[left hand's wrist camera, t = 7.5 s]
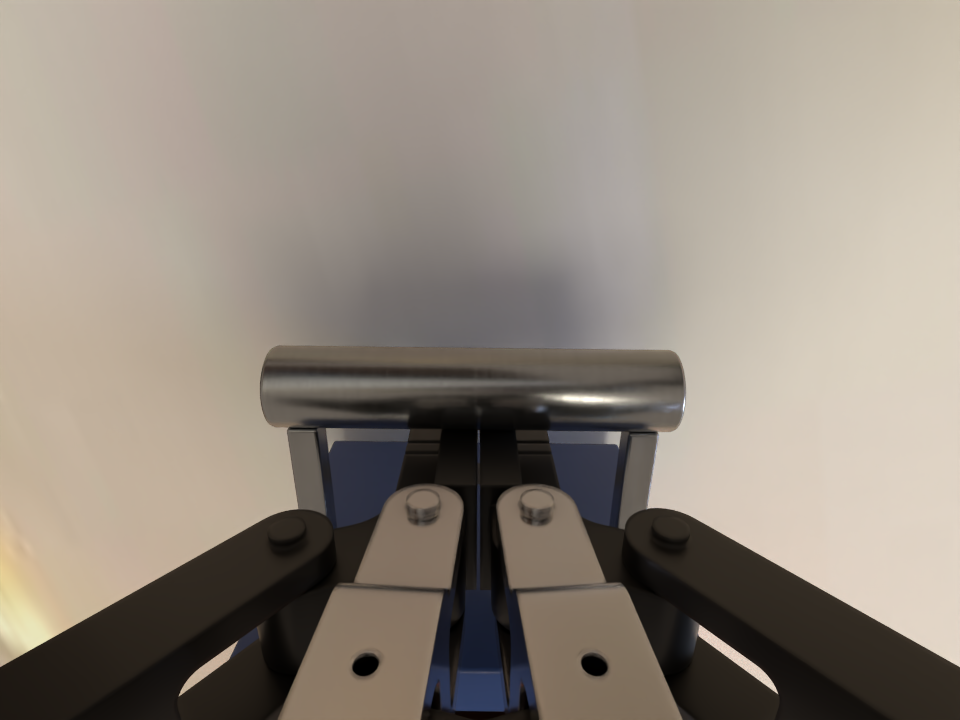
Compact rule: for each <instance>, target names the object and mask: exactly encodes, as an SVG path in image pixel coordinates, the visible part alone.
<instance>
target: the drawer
mask: <svg viewBox="0 0 960 720" xmlns="http://www.w3.org/2000/svg"><path fill="white" fill-rule="evenodd" d="M260 399H261V406H262V410H263V414H264V416H265V419H266V421H267V422H268V423H269V424H270V425H272V426H274V427H289V428H288V430H287V434H288V441H289V447H290V454H291V461H292V467H293V474H294V481H295V488H296V494H297V501H298V508H299V509H306V510H313V511H317V512H320V513H322V514H324V515H325V516H326V517H328V518H329V520H330V521H331V522H332V525H333V529H335V528H340V527H344V526H349V525H353V524H357V523H361V522H364V521H366V520H369V519H371V518H373V517H375V516H377V515H378V514H380V513H381V510H382V508H383V505H384V503H385V502H386V500H387V499H388V498H389V497H390V496H391V495H392V494H393V493H395V492H396V488H397V483H398V479H399V475H400V471H401V467H402V463H403V459H404V455H405V451H406V446H407V443H408V442H378V441H335V442H334V444H333V446H332V448H331V450H330V452H328V444H327V435H326V428H376V429H459V430H542V431H621V438H620V446H619V448H618V446H617V445H615V444H550V447H551V451H552V455H553V459H554V464H555V468H556V472H557V477H558V481H559V485H560V489H561V490H562V491H564V492H565V493H567V494H568V495H569V496H570V497H571V498H572V499H573V500H574V501H575V503H576V505H577V508H578V510H579V513H580V516H581V517H583V518H585V519H587V520H589V521H592V522H595V523H598V524H602V525H607V526H611V527H616V528H620V529H625V524H626V522H627V520H628V518H629V517H630V516H631V515H633V514H634V513H636V512H638V511H641V510H644V509H647V506H648V500H649V494H650V487H651V481H652V475H653V469H654V463H655V456H656V450H657V444H658V438H659V434H658V432H671V431H674V430H676V429H677V428H678V426H679V425H680V423H681V420H682V418H683V414H684V409H685V402H686V382H685V375H684V370H683V366H682V363H681V361H680V358H679V357H678V355H677V354H676V353H675V352H673V351H670V350H616V349H531V348H446V347H361V346H276V347H274V348H272V349H271V350H270V351H269V352H268V354H267V356H266V358H265V361H264V364H263V368H262V372H261V380H260ZM698 636H699V635H698ZM258 638H259V635H258V630H257V627H256V628H255V629H253V630H252V631H250V632H249V633H248V634H246V635H245V636H243V637H242V638H241V639H239V640H238V642H237V645H236V647H235V649H234V651H233V653H232V655H231V657H230V659H231V658H232V657H234V656H235V655H236V654H238V653H239V652H241V651H242V650H243V649H245V648H246V647H247V646H249V645H250V644H251V643H253V642H254V641H256V640H257V639H258ZM230 659H229V660H230ZM455 715H458V716H462V717H466V718H469V719H474V720H486V719H491V718H494V717H498V716H502V715H505V710H504V702H503V694H502V685H501V677H500V669H499V661H498V652H497V644H496V636H495V616H494V614H493V611H492V607H491V590H480V443H477V590H466V592H465V636H464V644H463V652H462V661H461V669H460V677H459V686H458V694H457V702H456V711H455Z"/></svg>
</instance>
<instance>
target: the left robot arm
mask: <svg viewBox="0 0 960 720" xmlns="http://www.w3.org/2000/svg"><path fill="white" fill-rule="evenodd" d="M466 590H477V430H459V429H411V430H410V434H409V438H408V443H407V446H406V451H405V455H404V459H403V463H402V467H401V471H400V475H399V479H398V483H397V488H396V492H395V493H393V494H392V495H391V496H390V497H389V498H388V499H387V500H386V502H385V503H384V505H383V508H382V510H381V513H380V514H378V515H377V516H375V517H373V518H371V519H369V520H366V521H364V522H361V523H357V524H353V525H349V526H344V527H340V528H335V529H333V525H332V522H331V521H330V520H329V518H328V517H326V516H325V515H324V514H322V513H320V512H317V511H313V510H306V509H298V510H289V511H284V512H281V513H277V514H275V515H272V516H270V517H268V518H266V519H264V520H262V521H260V522H258V523H256V524H255V525H253V526H251V527H249V528H248V529H246V530H244V531H242V532H240V533H239V534H237V535H235V536H233V537H232V538H230V539H228V540H226V541H224V542H223V543H221V544H219V545H217V546H215V547H214V548H212V549H210V550H208V551H207V552H205V553H203V554H201V555H199V556H198V557H196V558H194V559H192V560H191V561H189V562H187V563H185V564H183V565H182V566H180V567H178V568H176V569H174V570H173V571H171V572H169V573H167V574H166V575H164V576H162V577H160V578H158V579H157V580H155V581H153V582H151V583H150V584H148V585H146V586H144V587H142V588H141V589H139V590H137V591H135V592H133V593H132V594H130V595H128V596H126V597H125V598H123V599H121V600H119V601H117V602H116V603H114V604H112V605H110V606H109V607H107V608H105V609H103V610H101V611H100V612H98V613H96V614H94V615H92V616H91V617H89V618H87V619H85V620H84V621H82V622H80V623H78V624H76V625H75V626H73V627H71V628H69V629H67V630H66V631H64V632H62V633H60V634H59V635H57V636H55V637H53V638H51V639H50V640H48V641H46V642H44V643H43V644H41V645H39V646H37V647H35V648H34V649H32V650H30V651H28V652H26V653H25V654H23V655H21V656H19V657H18V658H16V659H14V660H12V661H10V662H9V663H7V664H5V665H3V666H2V667H0V720H474V719H469V718H466V717H462V716H458V715H455V711H456V702H457V694H458V686H459V677H460V669H461V661H462V652H463V644H464V636H465V592H466ZM480 590H491V607H492V611H493V614H494V616H495V636H496V644H497V652H498V661H499V669H500V677H501V685H502V694H503V702H504V710H505V715H502V716H498V717H494V718H491V719H486V720H960V667H958V666H957V665H955V664H953V663H951V662H950V661H948V660H946V659H944V658H942V657H941V656H939V655H937V654H935V653H933V652H932V651H930V650H928V649H926V648H925V647H923V646H921V645H919V644H917V643H916V642H914V641H912V640H910V639H909V638H907V637H905V636H903V635H901V634H900V633H898V632H896V631H894V630H892V629H891V628H889V627H887V626H885V625H884V624H882V623H880V622H878V621H876V620H875V619H873V618H871V617H869V616H868V615H866V614H864V613H862V612H860V611H859V610H857V609H855V608H853V607H851V606H850V605H848V604H846V603H844V602H843V601H841V600H839V599H837V598H835V597H834V596H832V595H830V594H828V593H827V592H825V591H823V590H821V589H819V588H818V587H816V586H814V585H812V584H810V583H809V582H807V581H805V580H803V579H802V578H800V577H798V576H796V575H794V574H793V573H791V572H789V571H787V570H786V569H784V568H782V567H780V566H778V565H777V564H775V563H773V562H771V561H769V560H768V559H766V558H764V557H762V556H761V555H759V554H757V553H755V552H753V551H752V550H750V549H748V548H746V547H745V546H743V545H741V544H739V543H737V542H736V541H734V540H732V539H730V538H728V537H727V536H725V535H723V534H721V533H720V532H718V531H716V530H714V529H712V528H711V527H709V526H707V525H705V524H704V523H702V522H700V521H698V520H696V519H695V518H693V517H691V516H689V515H686V514H684V513H681V512H678V511H674V510H670V509H662V508H650V509H644V510H641V511H638V512H636V513H634V514H633V515H631V516H630V517H629V518H628V520H627V522H626V524H625V529H620V528H616V527H611V526H607V525H602V524H598V523H595V522H592V521H589V520H587V519H585V518H583V517H581V516H580V513H579V510H578V508H577V505H576V503H575V501H574V500H573V499H572V498H571V497H570V496H569V495H568V494H567V493H565V492H564V491H562V490H561V489H560V485H559V481H558V477H557V472H556V468H555V464H554V459H553V455H552V451H551V447H550V444H549V438H548V434H547V431H542V430H480ZM699 625H701V626H703V627H704V628H705V629H707V630H708V631H710V632H711V633H712V634H714V635H715V636H717V637H718V638H719V639H721V640H722V641H724V642H725V643H726V644H728V645H729V646H731V647H732V648H733V649H735V650H736V651H738V652H739V653H740V654H742V655H743V656H745V657H746V658H747V659H749V660H750V661H752V662H753V663H754V664H756V665H757V666H758V667H760V668H761V669H762V670H763V671H764V672H765V673H766V674H767V675H768V676H769V678H770V679H771V680H772V682H773V683H774V685H775V687H776V689H777V692H778V694H777V693H775V692H774V691H773V690H771V689H770V688H769V687H767V686H766V685H764V684H763V683H762V682H760V681H759V680H758V679H756V678H755V677H754V676H752V675H751V674H749V673H748V672H747V671H745V670H744V669H743V668H741V667H740V666H739V665H737V664H736V663H734V662H733V661H732V660H730V659H729V658H728V657H726V656H725V655H724V654H722V653H721V652H719V651H718V650H717V649H715V648H714V647H713V646H711V645H710V644H708V643H707V642H706V641H704V640H703V639H702V638H700V637H699V636H698V630H699ZM256 627H257V630H258V635H259V638H258V639H257V640H256V641H254V642H253V643H251V644H250V645H249V646H247V647H246V648H245V649H243V650H242V651H241V652H239V653H238V654H236V655H235V656H234V657H232V658H231V659H230V660H228V661H227V662H226V663H224V664H223V665H221V666H220V667H219V668H217V669H216V670H215V671H213V672H212V673H211V674H209V675H208V676H206V677H205V678H204V679H202V680H201V681H200V682H198V683H197V684H196V685H194V686H193V687H191V688H190V689H189V690H187V691H186V692H185V693H183V694H182V695H181V696H179V694H180V691H181V689H182V687H183V685H184V684H185V683H186V681H187V680H188V679H189V677H190V676H191V675H192V674H193V673H194V672H195V671H196V670H198V669H199V668H200V667H201V666H203V665H204V664H206V663H207V662H208V661H210V660H211V659H213V658H214V657H215V656H217V655H218V654H220V653H221V652H222V651H224V650H225V649H227V648H228V647H229V646H231V645H232V644H234V643H235V642H236V641H238V640H239V639H241V638H242V637H243V636H245V635H246V634H248V633H249V632H250V631H252V630H253V629H255V628H256Z"/></svg>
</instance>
